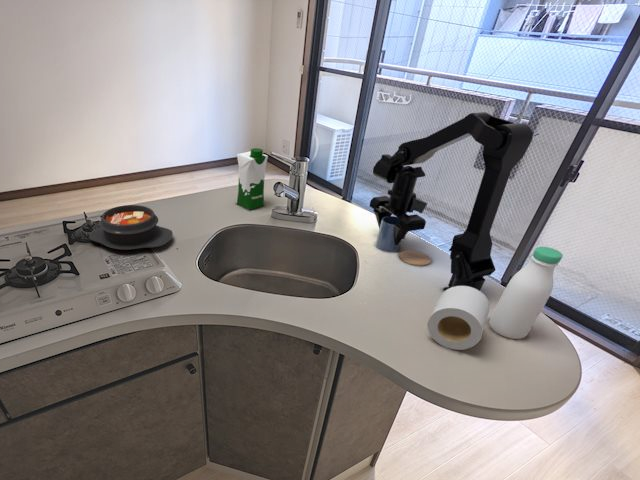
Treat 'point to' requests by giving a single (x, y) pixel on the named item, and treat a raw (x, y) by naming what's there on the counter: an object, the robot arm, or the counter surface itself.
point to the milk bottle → (526, 295)
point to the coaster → (414, 258)
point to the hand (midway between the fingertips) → (389, 239)
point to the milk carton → (251, 178)
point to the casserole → (130, 229)
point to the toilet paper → (459, 317)
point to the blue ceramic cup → (387, 234)
